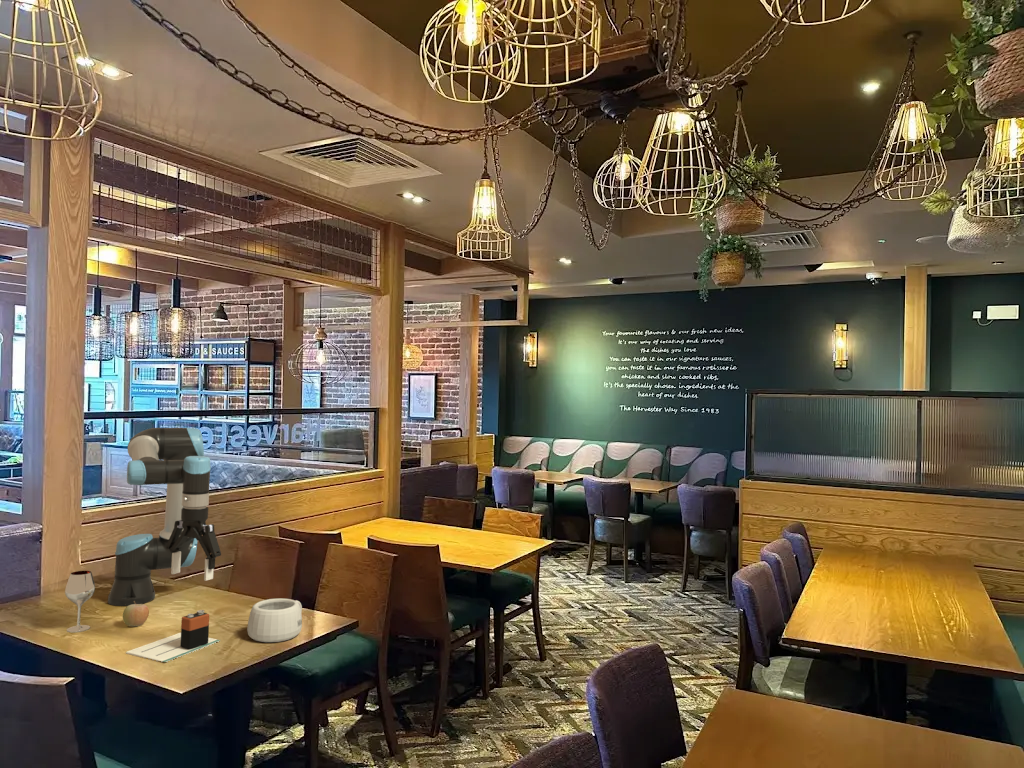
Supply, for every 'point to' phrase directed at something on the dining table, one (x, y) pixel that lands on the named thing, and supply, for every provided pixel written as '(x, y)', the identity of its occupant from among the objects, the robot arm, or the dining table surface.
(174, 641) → the order pad
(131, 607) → the fruit
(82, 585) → the wineglass
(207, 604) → the dining table surface
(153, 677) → the dining table surface
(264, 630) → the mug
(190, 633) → the battery
